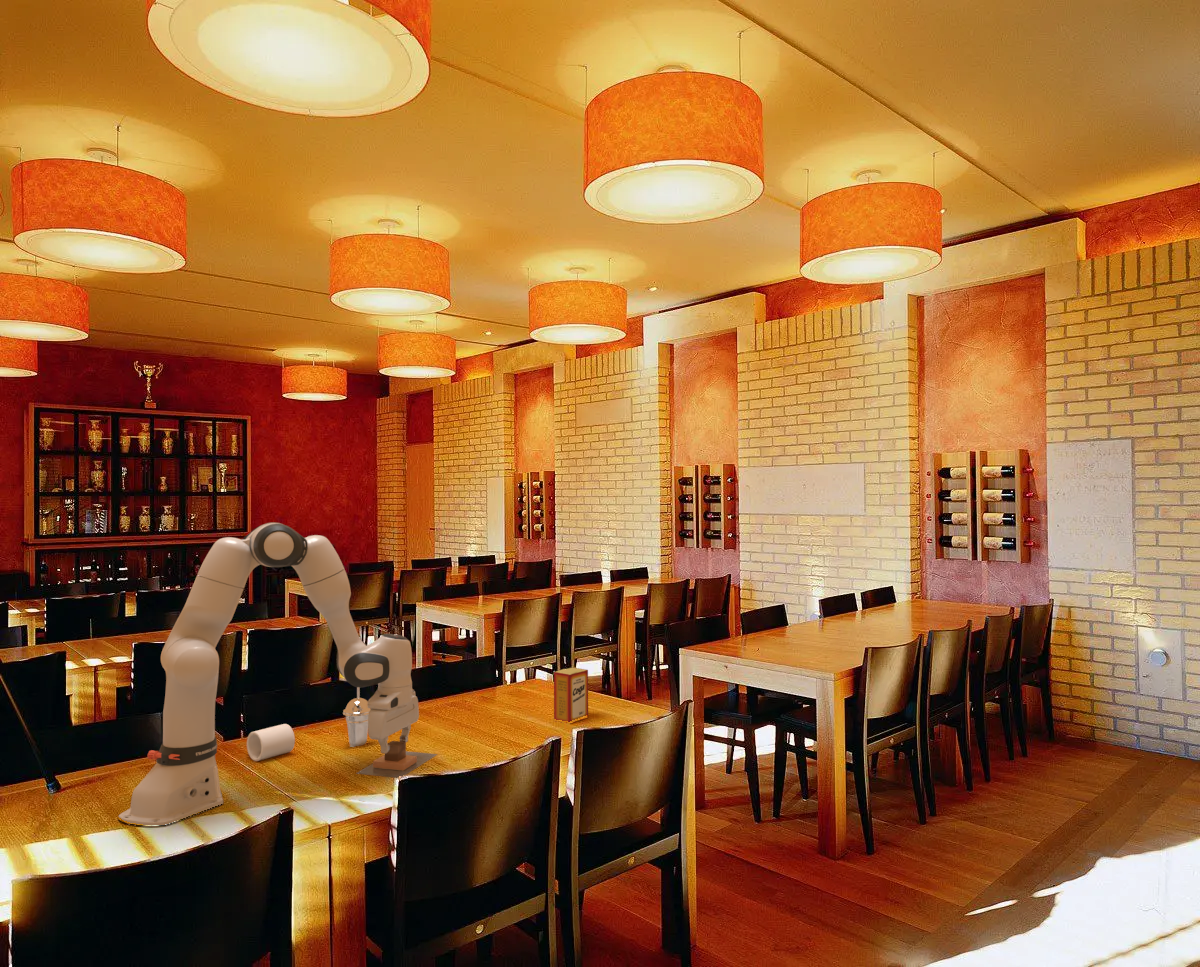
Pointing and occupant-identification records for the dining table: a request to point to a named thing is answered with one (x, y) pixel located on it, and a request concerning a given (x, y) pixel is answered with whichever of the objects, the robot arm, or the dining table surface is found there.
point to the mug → (270, 742)
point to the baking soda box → (570, 694)
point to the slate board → (396, 773)
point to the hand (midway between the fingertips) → (394, 747)
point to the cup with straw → (357, 719)
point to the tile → (395, 763)
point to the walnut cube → (396, 751)
